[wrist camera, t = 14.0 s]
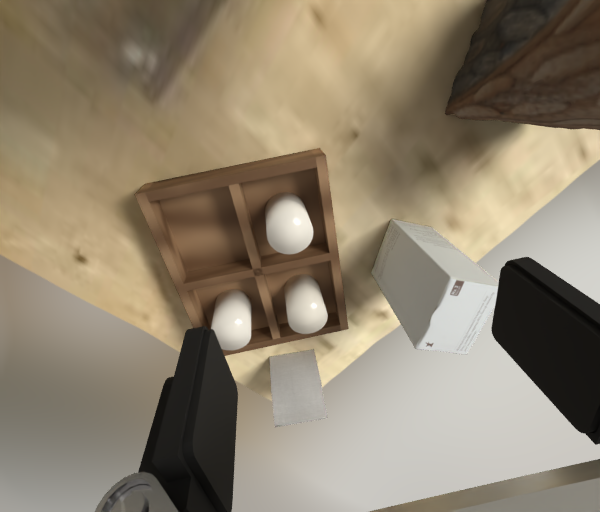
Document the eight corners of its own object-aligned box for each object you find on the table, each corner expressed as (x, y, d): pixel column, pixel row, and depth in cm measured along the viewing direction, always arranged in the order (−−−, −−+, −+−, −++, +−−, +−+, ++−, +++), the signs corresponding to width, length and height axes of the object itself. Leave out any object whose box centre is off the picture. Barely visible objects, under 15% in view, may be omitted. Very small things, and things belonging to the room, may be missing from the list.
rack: (145, 183, 35) (134, 194, 32) (319, 148, 36) (325, 155, 33) (210, 340, 47) (207, 359, 44) (342, 312, 47) (348, 328, 44)
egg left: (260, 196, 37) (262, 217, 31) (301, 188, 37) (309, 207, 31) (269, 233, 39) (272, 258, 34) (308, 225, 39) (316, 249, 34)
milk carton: (269, 356, 50) (272, 417, 41) (313, 349, 50) (326, 407, 41) (273, 373, 51) (276, 434, 43) (316, 366, 52) (328, 425, 43)
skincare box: (407, 278, 46) (468, 359, 33) (367, 272, 44) (413, 354, 31) (432, 222, 42) (512, 289, 29) (389, 214, 40) (452, 280, 28)
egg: (210, 293, 42) (204, 324, 37) (246, 285, 42) (245, 316, 37) (221, 320, 44) (217, 354, 39) (255, 313, 44) (255, 345, 39)
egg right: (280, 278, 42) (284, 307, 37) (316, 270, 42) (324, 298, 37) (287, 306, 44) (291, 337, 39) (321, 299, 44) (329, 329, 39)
